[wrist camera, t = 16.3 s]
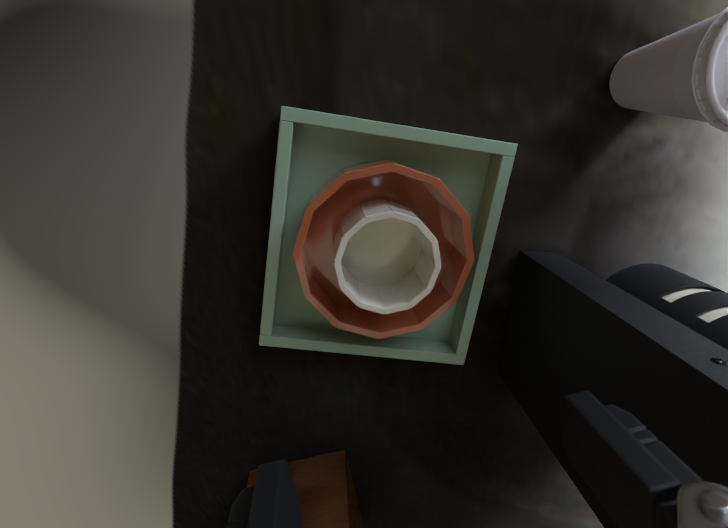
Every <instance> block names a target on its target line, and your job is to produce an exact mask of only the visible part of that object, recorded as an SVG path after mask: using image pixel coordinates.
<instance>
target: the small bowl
mask: <svg viewBox="0 0 728 528" xmlns="http://www.w3.org/2000/svg"><path fill="white" fill-rule="evenodd" d="M333 260H334V267H335V271H336V276H337V280H338V284H339V288H340V290H341V291H342V292H343V293H344V294H345V295H346V296H347V297H348V298H349V299H350V300H351V301H352V302H353V303H354V304H355V305H356V306H357V307H359V308H362V309H365V310H369V311H372V312H376V313H379V314H390V313H395V312H399V311H404V310H408V309H410V308H412V307H414V306H415V305H416V304H417V303H418V302H420V301H421V300H422V299H423V298H425V297H426V296H427V295H428V294H429V293H431V291H432V289H433V287H434V284H435V282H436V279H437V277H438V275H439V272H440V270H441V259H440V252H439V245H438V241H437V239H436V237H435V236H434V235H433V234H432V233H431V232H430V230H429V229H428V228H427V227H426V226H425V225H424V223H423V222H422V221H421V220H420V219H419V218H418V217H417V216H416V215H415V214H414V213H413V212H412V211H411V210H410V209H409V208H408V207H407V206H404V205H402V204H400V203H397V202H395V201H391V200H386V199H385V200H384V199H378V200H371V201H367V202H364V203H362V204H359V205H358V206H356V207H354V208H353V209H352V210H350V211H349V212H348V213H347V214H346V215H345V216H344V218H343V219H342V220H341V222H340V223H339V225H338V228H337V230H336V233H335V238H334V241H333Z"/></svg>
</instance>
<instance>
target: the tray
mask: <svg viewBox="0 0 728 528" xmlns="http://www.w3.org/2000/svg"><path fill="white" fill-rule="evenodd" d="M517 145H518V144H514V143H508V142H502V141H496V140H490V139H483V138H477V137H471V136H465V135H459V134H453V133H446V132H440V131H434V130H428V129H422V128H416V127H409V126H403V125H397V124H391V123H385V122H379V121H372V120H366V119H360V118H354V117H348V116H342V115H335V114H329V113H323V112H317V111H311V110H305V109H298V108H292V107H286V106H281V113H280V124H279V135H278V145H277V156H276V167H275V177H274V188H273V198H272V209H271V220H270V230H269V241H268V252H267V262H266V273H265V284H264V294H263V305H262V316H261V326H260V337H259V345H261V346H271V347H282V348H292V349H303V350H313V351H323V352H334V353H344V354H354V355H365V356H375V357H386V358H396V359H406V360H417V361H427V362H437V363H448V364H458V365H464V362H465V358H466V354H467V350H468V346H469V342H470V338H471V334H472V329H473V325H474V321H475V317H476V313H477V309H478V305H479V301H480V297H481V293H482V289H483V284H484V280H485V276H486V272H487V268H488V264H489V260H490V256H491V252H492V248H493V244H494V240H495V235H496V231H497V227H498V223H499V219H500V215H501V211H502V207H503V203H504V199H505V195H506V190H507V186H508V182H509V178H510V174H511V170H512V166H513V162H514V157H515V154H516V150H517ZM382 159H390V160H393V161H396V162H399V163H402V164H405V165H408V166H410V167H413V168H416V169H419V170H422V171H425V172H428V173H430V174H432V175H434V176H436V177H437V178H439V179H441V181H442V182H443V183H444V184H445V186H446V187H447V188H448V189H449V191H450V192H451V193H452V194H453V195H454V197H455V198H456V199H457V200H458V202H459V203H460V204H461V205H462V207H463V208H464V209H465V210H466V212H467V213H468V215H469V218H470V226H471V234H472V242H473V249H474V257H475V259H474V263H473V265H472V268H471V270H470V272H469V275H468V277H467V280H466V282H465V284H464V287H463V289H462V291H461V294H460V296H459V299H458V301H457V302H456V303H455V304H454V305H452V306H451V307H450V308H449V309H448V310H446V311H445V312H444V313H443V314H441V315H440V316H439V317H438V318H437V319H435V320H434V321H433V322H432V323H430V324H429V325H428V326H427V327H425V328H424V329H422V330H420V331H415V332H411V333H406V334H402V335H397V336H392V337H388V338H383V339H375V338H371V337H368V336H364V335H360V334H356V333H353V332H349V331H345V330H342V329H338V328H336V327H334V326H333V325H332V324H331V323H330V322H329V321H328V320H327V319H326V318H325V317H324V316H323V315H322V314H321V313H320V312H319V311H318V310H317V309H316V308H315V307H314V306H313V305H312V304H311V303H310V302H309V301H308V300H307V299H306V298H305V296H304V295H303V292H302V288H301V284H300V280H299V276H298V272H297V269H296V265H295V261H294V257H293V248H294V244H295V240H296V237H297V233H298V230H299V227H300V224H301V220H302V217H303V214H304V210H305V207H306V204H307V200H308V199H309V197H310V196H312V195H313V194H314V193H315V192H316V191H317V190H318V189H319V188H320V187H321V186H322V185H323V184H324V183H325V182H326V181H327V180H328V179H329V178H331V177H332V176H333V175H335V174H336V173H337V172H338V171H339V170H340V169H342V168H344V167H348V166H353V165H356V164H359V163H363V162H369V161H377V160H382Z"/></svg>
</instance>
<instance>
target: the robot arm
mask: <svg viewBox="0 0 728 528" xmlns="http://www.w3.org/2000/svg"><path fill="white" fill-rule="evenodd" d="M560 416H561V429H562V441H563V445H564V449H565V451H566V454H567V456H568V458H569V460H570V462H571V463H572V464H573V466H574V467H575V469H576V470H577V471H578V473H579V474H580V475H581V477H582V478H583V479H584V481H585V482H586V483H587V485H588V486H589V487H590V489H591V490H592V492H593V493H594V494H595V496H596V497H597V498H598V500H599V501H600V502H601V504H602V505H603V506H604V508H605V509H606V510H607V512H608V513H609V515H610V516H611V517H612V519H613V520H614V521H615V523H616V524H617V525H618V527H619V528H728V487H726V486H723V485H720V484H717V483H713V482H707V481H703V480H702V479H701V478H700V477H699V476H698V475H697V474H696V473H695V472H694V471H693V470H692V469H690V468H689V467H688V466H687V465H686V464H685V463H684V462H683V461H682V460H681V459H680V458H679V457H678V456H676V455H675V454H674V453H673V452H672V451H671V450H670V449H669V448H668V447H667V446H666V445H665V444H664V443H663V442H661V441H660V440H658V439H657V437H656V436H655V435H654V434H653V433H652V432H651V431H650V430H649V429H648V430H647V429H646V427H645V426H644V425H643V424H642V423H641V422H640V421H639V420H638V419H637V418H636V417H635V416H634V415H632V414H631V413H629V412H627V411H625V410H623V409H621V408H619V407H617V406H615V405H613V404H611V405H607V406H604V405H603V404H602V403H601V402H600V401H599V400H598V399H597V398H596V397H595V396H594V395H593V394H592V393H591V392H589V391H582V392H578V393H573V394H569V395H565V396H561V397H560ZM226 528H302V511H301V505H300V501H299V497H298V494H297V491H296V488H295V484H294V481H293V478H292V475H291V472H290V468H289V465H288V463H287V461H286V459H283V460H279V461H274V462H270V463H265V464H261V465H259V467H258V470H257V475H256V481H255V486H252V487H248V488H244V489H242V490H241V492H240V494H239V495H238V497H237V498H236V500H235V501H234V503H233V504H232V506H231V510H230V515H229V519H228V526H227V527H226Z"/></svg>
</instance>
